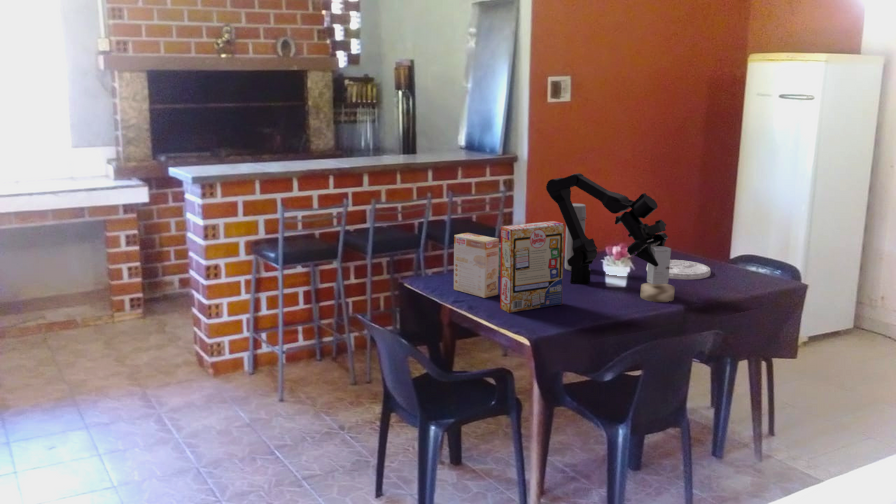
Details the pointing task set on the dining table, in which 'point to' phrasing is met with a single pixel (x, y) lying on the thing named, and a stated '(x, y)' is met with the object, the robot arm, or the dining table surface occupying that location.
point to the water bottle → (581, 215)
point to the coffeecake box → (476, 264)
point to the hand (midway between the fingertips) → (662, 264)
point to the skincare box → (659, 265)
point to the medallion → (687, 270)
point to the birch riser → (657, 292)
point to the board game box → (531, 266)
